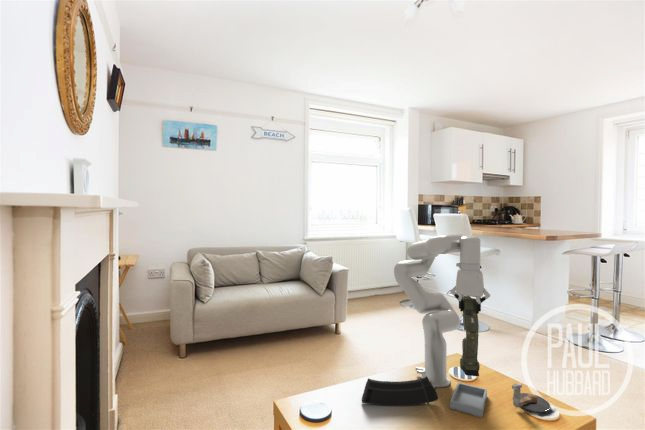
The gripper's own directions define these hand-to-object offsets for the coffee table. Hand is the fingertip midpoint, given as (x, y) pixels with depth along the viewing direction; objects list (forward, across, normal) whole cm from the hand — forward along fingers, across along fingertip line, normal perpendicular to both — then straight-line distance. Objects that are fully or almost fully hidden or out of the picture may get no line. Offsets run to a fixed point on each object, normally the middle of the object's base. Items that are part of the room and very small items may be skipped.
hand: (469, 311), depth 141 cm
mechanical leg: (+24, 0, 0) cm, 24 cm away
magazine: (+38, -24, -15) cm, 48 cm away
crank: (+36, +19, +7) cm, 41 cm away
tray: (+38, 0, 0) cm, 38 cm away
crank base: (+38, +22, +11) cm, 45 cm away
